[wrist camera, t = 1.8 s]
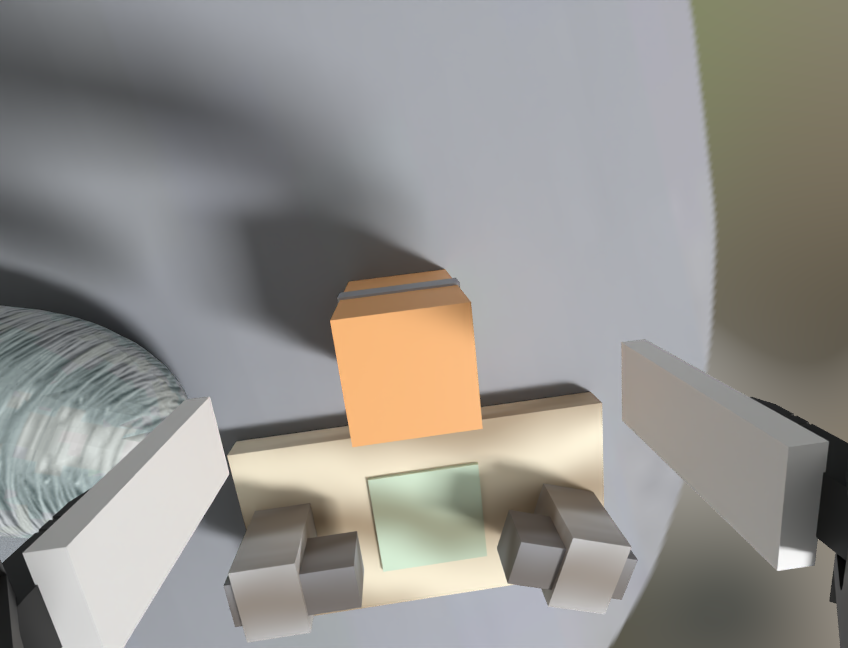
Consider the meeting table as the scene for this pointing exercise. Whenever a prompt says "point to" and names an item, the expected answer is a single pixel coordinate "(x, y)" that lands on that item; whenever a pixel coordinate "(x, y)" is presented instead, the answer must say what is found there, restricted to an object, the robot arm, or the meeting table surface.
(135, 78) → the meeting table surface
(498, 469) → the coupling bench
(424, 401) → the block
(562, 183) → the meeting table surface
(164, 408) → the grey green yarn ball
